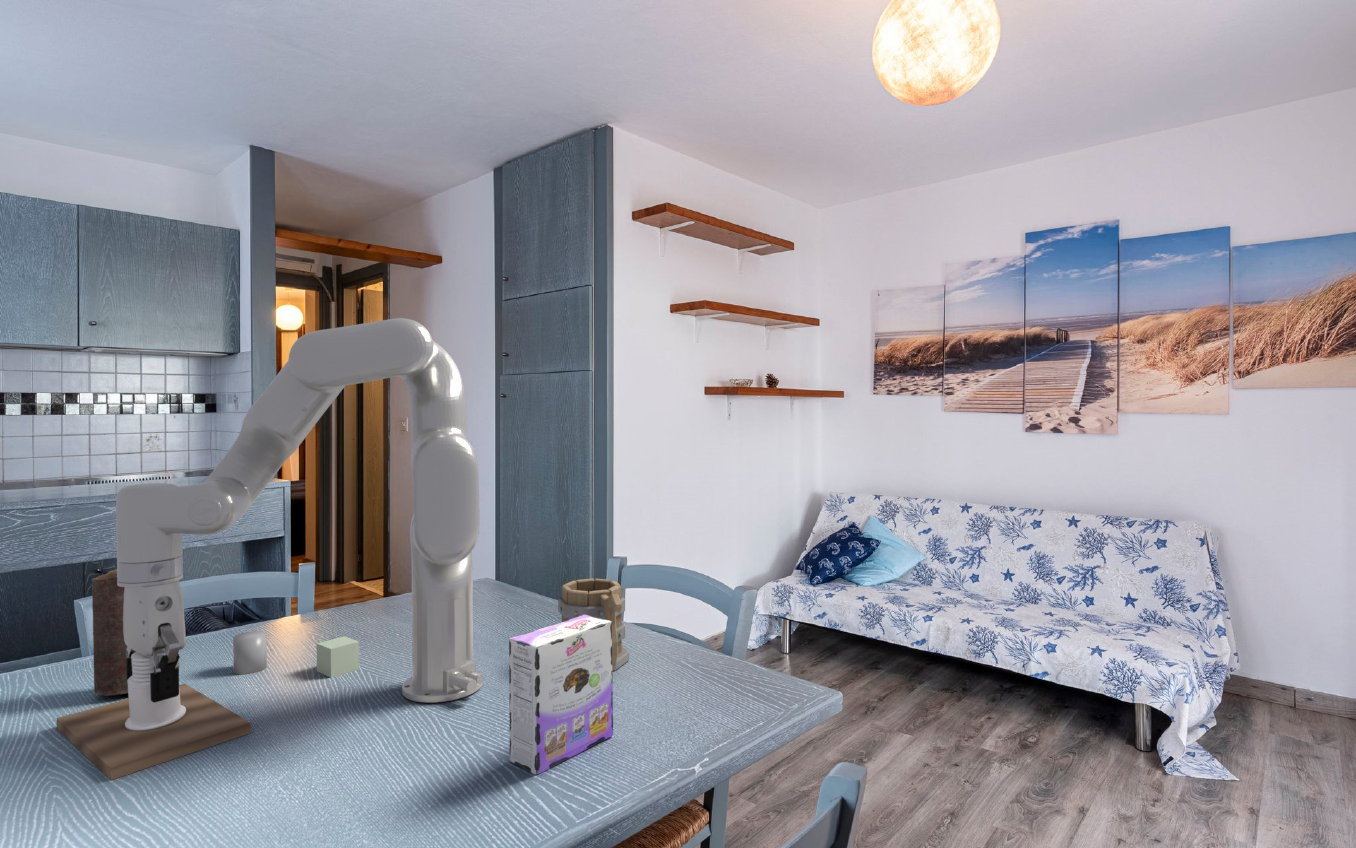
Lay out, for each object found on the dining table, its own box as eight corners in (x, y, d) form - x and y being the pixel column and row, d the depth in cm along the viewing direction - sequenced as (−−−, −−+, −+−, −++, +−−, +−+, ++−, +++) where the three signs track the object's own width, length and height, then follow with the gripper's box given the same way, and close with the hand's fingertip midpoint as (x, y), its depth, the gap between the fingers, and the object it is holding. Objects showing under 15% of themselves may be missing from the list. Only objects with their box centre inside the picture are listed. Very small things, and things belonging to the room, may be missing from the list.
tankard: (549, 655, 133) (549, 575, 132) (614, 646, 138) (613, 569, 137) (577, 694, 114) (577, 601, 114) (651, 682, 119) (650, 593, 119)
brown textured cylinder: (118, 704, 110) (116, 576, 110) (80, 700, 112) (78, 574, 111) (163, 686, 118) (161, 566, 117) (127, 682, 119) (125, 564, 119)
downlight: (121, 717, 102) (116, 650, 101) (179, 701, 107) (175, 637, 105) (130, 739, 96) (125, 669, 95) (191, 721, 101) (187, 653, 100)
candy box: (585, 725, 103) (585, 612, 103) (614, 737, 99) (614, 620, 99) (507, 762, 92) (506, 636, 92) (536, 776, 88) (536, 645, 88)
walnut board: (250, 733, 100) (250, 722, 100) (111, 780, 88) (110, 768, 88) (185, 693, 115) (184, 683, 115) (56, 728, 102) (56, 718, 102)
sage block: (359, 669, 125) (359, 641, 125) (331, 678, 121) (330, 649, 121) (344, 663, 128) (344, 636, 128) (316, 671, 124) (316, 643, 124)
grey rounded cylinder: (271, 668, 126) (271, 634, 126) (241, 676, 122) (240, 642, 122) (259, 662, 129) (258, 629, 129) (228, 670, 125) (228, 636, 125)
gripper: (205, 574, 99) (206, 696, 99) (159, 559, 109) (161, 670, 109) (140, 585, 93) (142, 715, 93) (98, 567, 103) (100, 685, 103)
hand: (152, 690), depth 101 cm, fingers open, 9 cm apart
